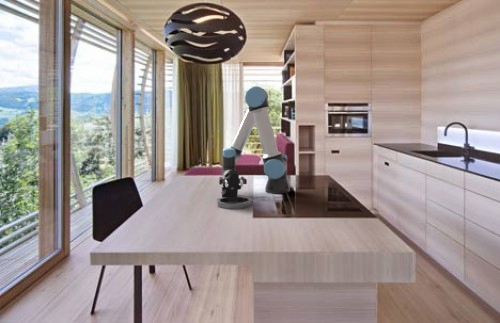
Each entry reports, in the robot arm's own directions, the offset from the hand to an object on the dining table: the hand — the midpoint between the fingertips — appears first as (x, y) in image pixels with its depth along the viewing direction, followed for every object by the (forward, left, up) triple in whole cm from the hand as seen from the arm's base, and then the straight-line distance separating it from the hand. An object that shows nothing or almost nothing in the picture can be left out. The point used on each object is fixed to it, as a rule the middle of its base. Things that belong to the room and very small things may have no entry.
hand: (234, 184), depth 204 cm
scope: (+1, -5, -8) cm, 9 cm away
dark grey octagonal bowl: (0, -5, -12) cm, 13 cm away
